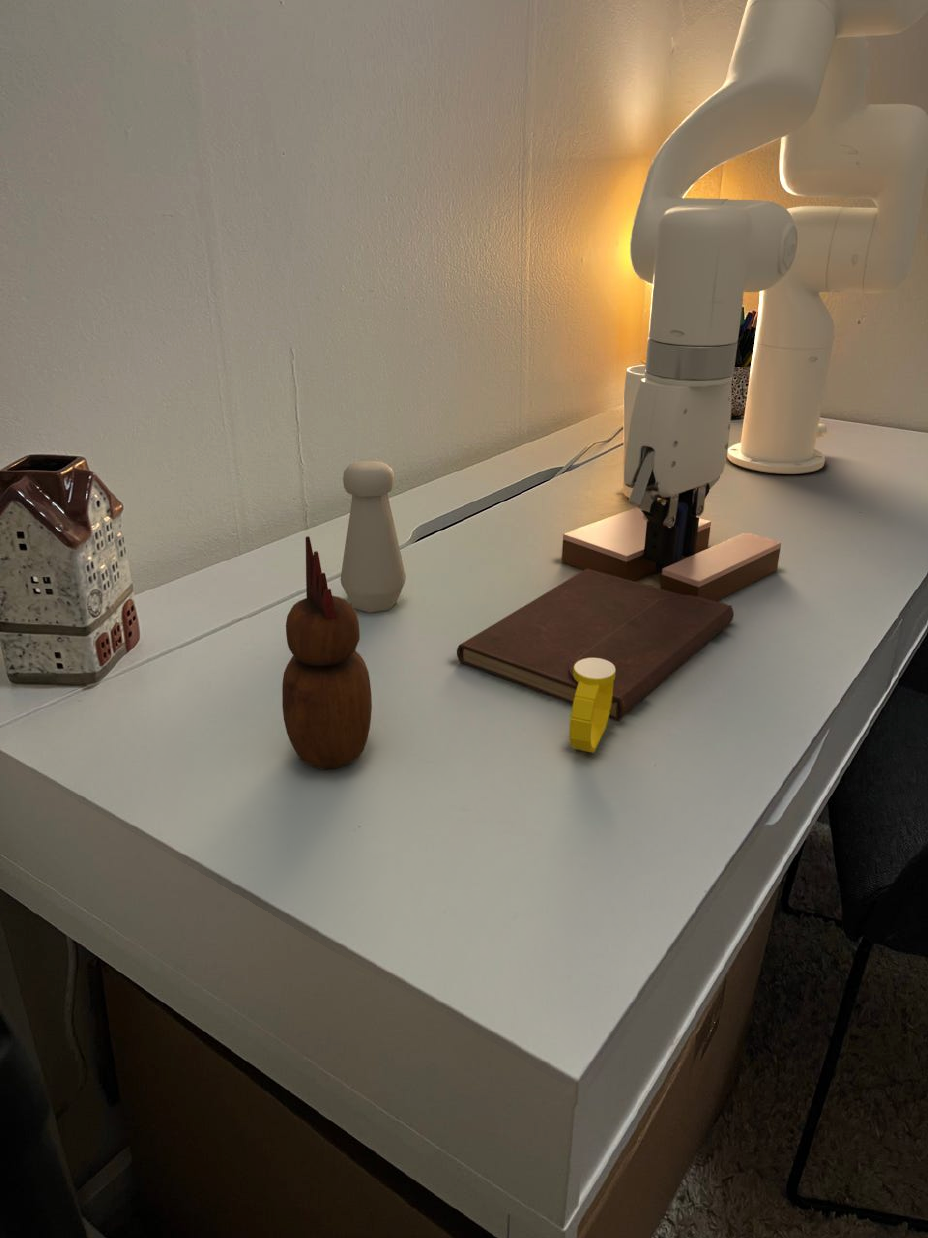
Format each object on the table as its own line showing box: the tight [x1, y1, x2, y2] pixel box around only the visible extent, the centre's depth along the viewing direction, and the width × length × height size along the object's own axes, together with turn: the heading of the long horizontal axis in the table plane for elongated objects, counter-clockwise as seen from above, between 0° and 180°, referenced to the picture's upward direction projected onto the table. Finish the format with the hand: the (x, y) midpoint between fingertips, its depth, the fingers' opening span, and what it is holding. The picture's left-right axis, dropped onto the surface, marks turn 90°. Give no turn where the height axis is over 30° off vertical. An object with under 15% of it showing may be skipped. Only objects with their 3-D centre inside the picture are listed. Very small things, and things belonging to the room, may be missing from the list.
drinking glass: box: [622, 364, 662, 501], centre depth 109 cm, size 7×7×15 cm
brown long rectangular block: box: [659, 531, 782, 602], centre depth 88 cm, size 14×4×3 cm, turn 133°
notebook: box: [456, 569, 734, 722], centre depth 77 cm, size 15×20×2 cm
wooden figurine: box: [281, 536, 373, 770], centre depth 59 cm, size 7×6×15 cm
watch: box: [568, 658, 616, 754], centre depth 63 cm, size 6×3×6 cm, turn 157°
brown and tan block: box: [561, 507, 712, 582], centre depth 94 cm, size 14×8×3 cm, turn 133°
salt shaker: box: [340, 460, 407, 614], centre depth 81 cm, size 6×6×13 cm
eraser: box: [655, 502, 688, 575], centre depth 87 cm, size 2×2×7 cm
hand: (669, 556), depth 88 cm, fingers closed on eraser, 2 cm apart
